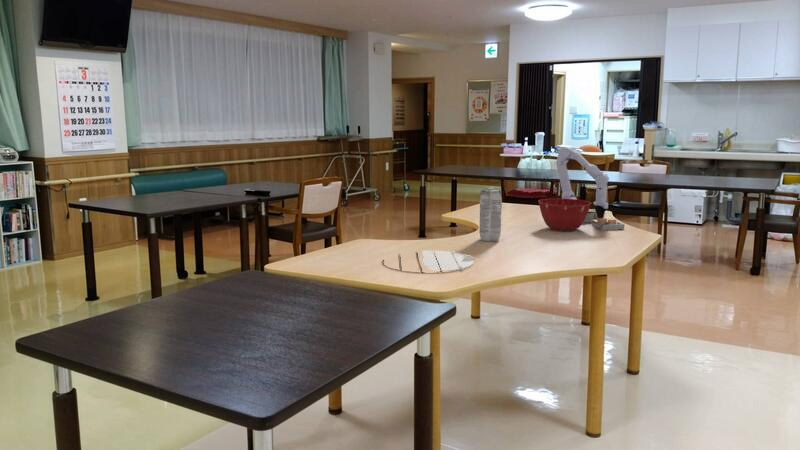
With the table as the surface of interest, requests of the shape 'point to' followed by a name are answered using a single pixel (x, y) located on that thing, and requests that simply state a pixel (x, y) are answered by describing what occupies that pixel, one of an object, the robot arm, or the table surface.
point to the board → (598, 222)
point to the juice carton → (490, 214)
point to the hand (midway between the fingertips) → (600, 219)
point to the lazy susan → (447, 260)
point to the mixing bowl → (564, 213)
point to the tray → (610, 226)
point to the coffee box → (591, 216)
